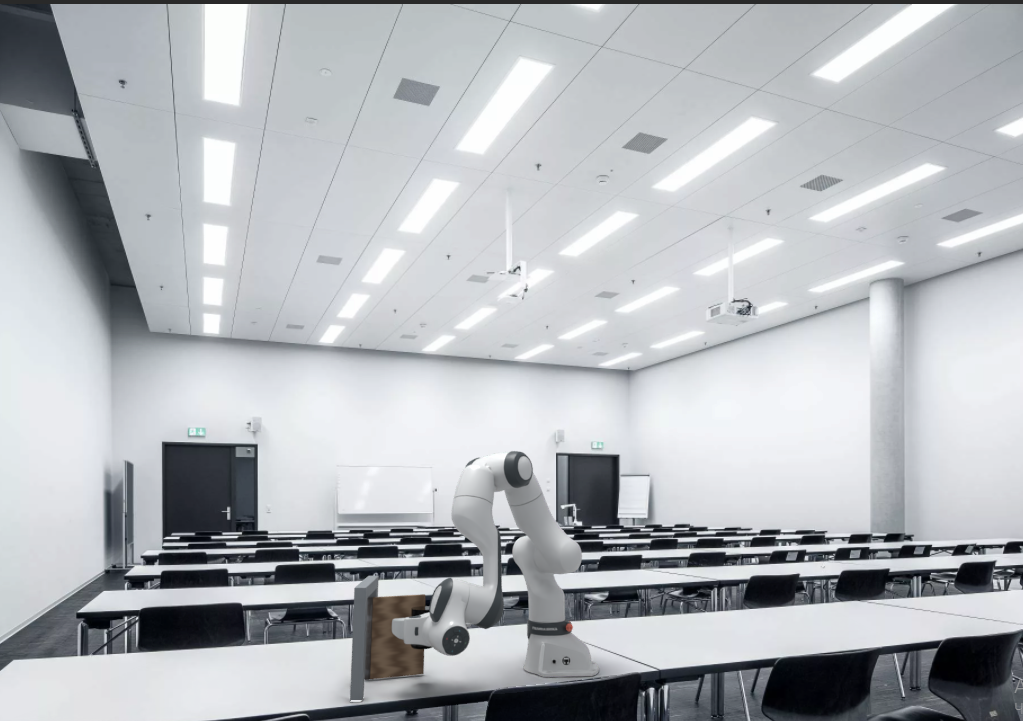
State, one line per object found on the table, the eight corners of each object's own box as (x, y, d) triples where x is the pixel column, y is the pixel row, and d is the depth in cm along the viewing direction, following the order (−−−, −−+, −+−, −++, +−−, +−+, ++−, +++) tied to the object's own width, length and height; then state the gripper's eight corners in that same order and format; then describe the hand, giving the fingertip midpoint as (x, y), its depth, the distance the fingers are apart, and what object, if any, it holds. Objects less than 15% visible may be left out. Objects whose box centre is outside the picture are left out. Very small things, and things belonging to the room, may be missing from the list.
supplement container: (430, 643, 195) (431, 605, 197) (437, 648, 189) (438, 608, 191) (407, 646, 192) (408, 607, 194) (414, 650, 186) (415, 610, 188)
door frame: (364, 676, 197) (368, 575, 202) (375, 676, 197) (378, 575, 202) (349, 702, 173) (354, 587, 178) (361, 702, 174) (366, 587, 179)
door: (366, 681, 190) (369, 599, 194) (364, 678, 193) (367, 597, 197) (424, 675, 196) (426, 595, 200) (422, 672, 199) (424, 594, 203)
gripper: (473, 613, 185) (457, 605, 198) (399, 619, 177) (387, 610, 190) (473, 637, 184) (456, 628, 196) (399, 644, 176) (386, 634, 188)
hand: (422, 619), depth 193 cm, fingers closed on supplement container, 7 cm apart
